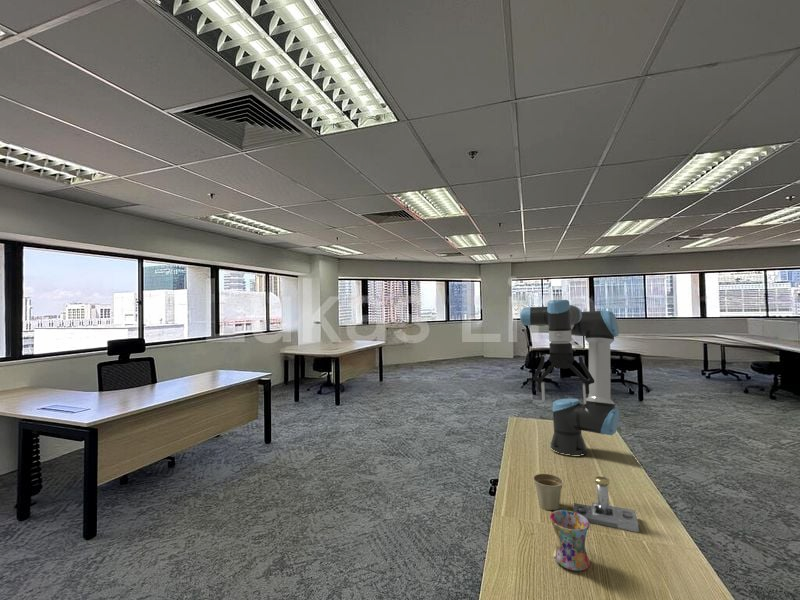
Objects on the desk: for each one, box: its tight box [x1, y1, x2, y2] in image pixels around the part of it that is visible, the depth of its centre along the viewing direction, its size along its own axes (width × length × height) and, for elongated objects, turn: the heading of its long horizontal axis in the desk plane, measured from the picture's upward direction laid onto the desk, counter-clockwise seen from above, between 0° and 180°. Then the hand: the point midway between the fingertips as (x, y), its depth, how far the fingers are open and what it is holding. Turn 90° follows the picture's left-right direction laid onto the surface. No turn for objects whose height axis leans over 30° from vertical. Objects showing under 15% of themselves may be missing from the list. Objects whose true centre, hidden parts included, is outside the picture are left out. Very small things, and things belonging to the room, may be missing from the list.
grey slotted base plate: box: [572, 502, 640, 533], centre depth 111 cm, size 8×17×3 cm, turn 62°
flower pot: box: [532, 473, 564, 511], centre depth 120 cm, size 9×9×9 cm
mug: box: [549, 509, 591, 572], centre depth 94 cm, size 12×9×11 cm
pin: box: [594, 476, 610, 516], centre depth 111 cm, size 4×4×12 cm
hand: (563, 401), depth 130 cm, fingers open, 13 cm apart
